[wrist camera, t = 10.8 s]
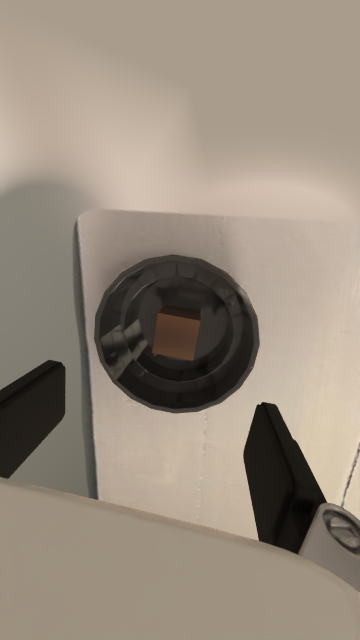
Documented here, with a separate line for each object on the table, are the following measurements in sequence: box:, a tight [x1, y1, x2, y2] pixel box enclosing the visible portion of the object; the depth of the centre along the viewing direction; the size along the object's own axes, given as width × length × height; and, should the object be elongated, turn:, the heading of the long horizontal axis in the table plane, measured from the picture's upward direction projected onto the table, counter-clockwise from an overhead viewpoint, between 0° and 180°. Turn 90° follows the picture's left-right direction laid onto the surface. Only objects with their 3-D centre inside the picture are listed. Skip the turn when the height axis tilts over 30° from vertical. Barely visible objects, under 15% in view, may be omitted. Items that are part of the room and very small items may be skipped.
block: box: [152, 305, 201, 361], centre depth 23 cm, size 4×4×4 cm
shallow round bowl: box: [94, 255, 260, 413], centre depth 23 cm, size 15×15×6 cm
